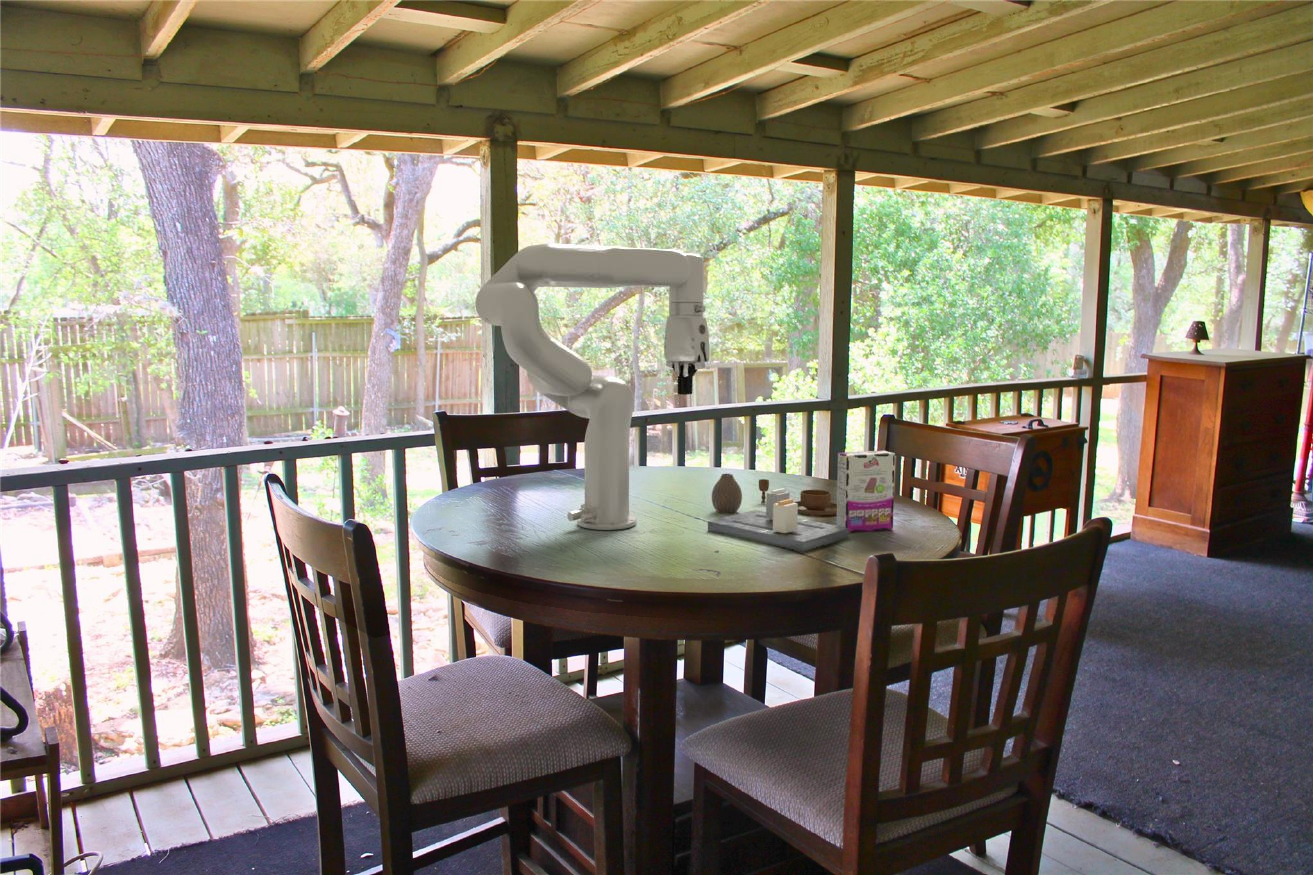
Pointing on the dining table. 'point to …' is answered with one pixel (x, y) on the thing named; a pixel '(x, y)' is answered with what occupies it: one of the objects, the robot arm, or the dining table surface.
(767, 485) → the place setting
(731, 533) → the console
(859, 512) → the candy bar box
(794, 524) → the ivory fader
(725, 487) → the vase
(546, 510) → the dining table surface
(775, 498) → the grey fader
